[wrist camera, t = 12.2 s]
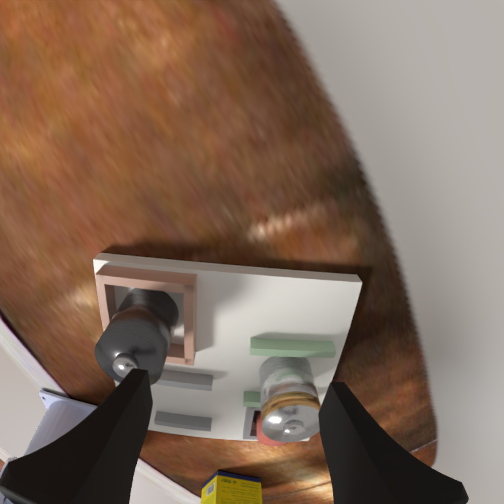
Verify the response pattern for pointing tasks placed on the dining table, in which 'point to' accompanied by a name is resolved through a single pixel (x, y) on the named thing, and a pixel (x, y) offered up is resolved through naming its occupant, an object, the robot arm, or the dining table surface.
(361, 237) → the dining table surface
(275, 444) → the button
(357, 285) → the tester board
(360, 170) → the dining table surface
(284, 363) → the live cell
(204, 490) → the supplement box
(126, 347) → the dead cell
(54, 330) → the dining table surface
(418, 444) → the dining table surface
